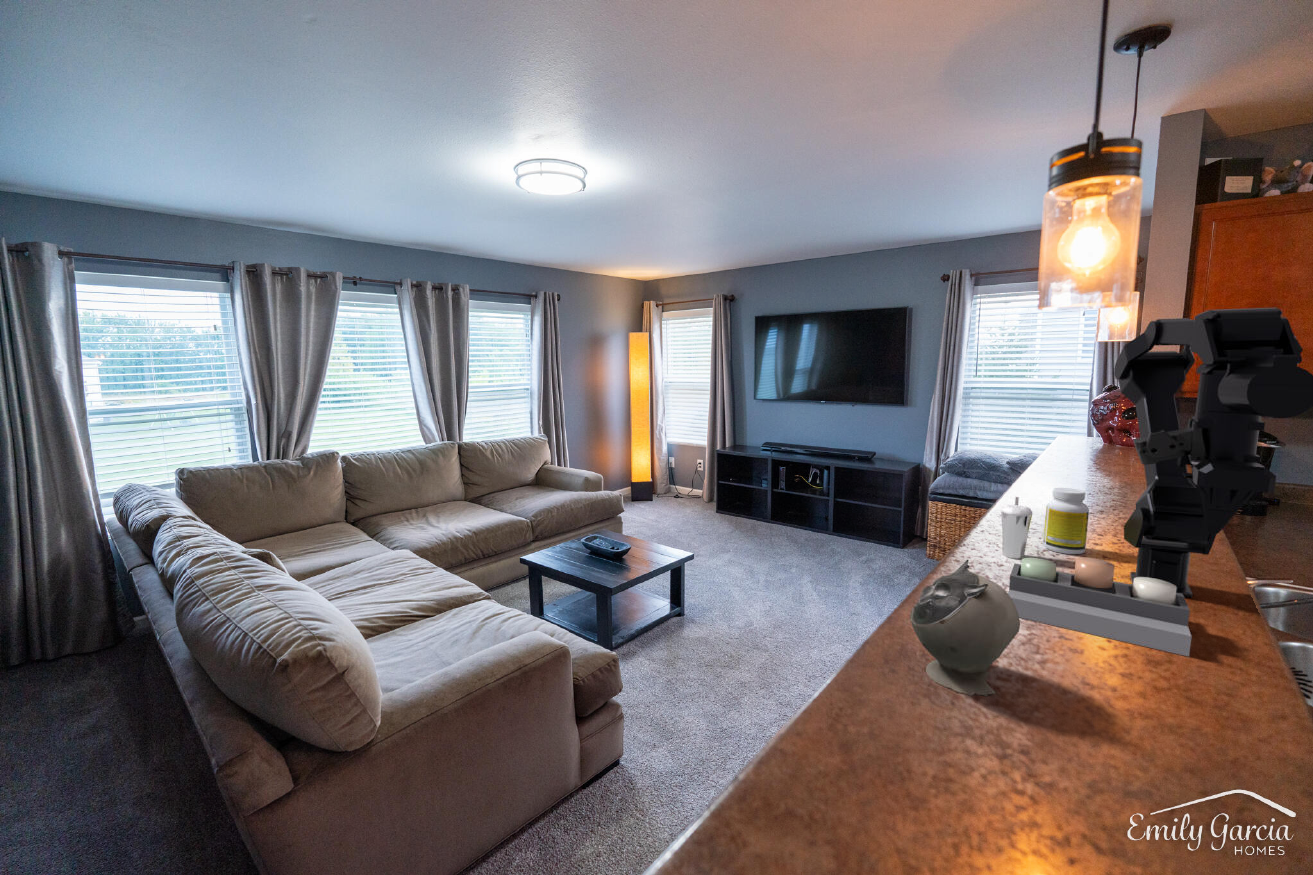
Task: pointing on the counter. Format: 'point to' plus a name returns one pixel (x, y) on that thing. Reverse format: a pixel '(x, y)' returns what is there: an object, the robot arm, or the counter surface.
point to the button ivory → (1154, 590)
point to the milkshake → (1015, 529)
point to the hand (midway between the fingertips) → (1211, 532)
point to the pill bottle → (1066, 522)
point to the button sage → (1038, 569)
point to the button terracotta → (1094, 572)
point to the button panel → (1102, 611)
